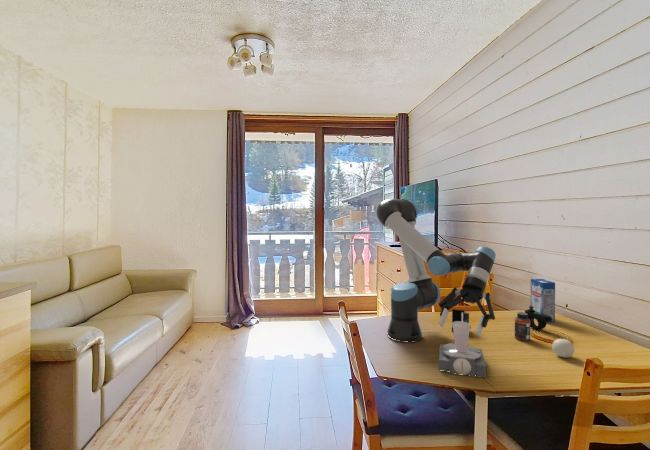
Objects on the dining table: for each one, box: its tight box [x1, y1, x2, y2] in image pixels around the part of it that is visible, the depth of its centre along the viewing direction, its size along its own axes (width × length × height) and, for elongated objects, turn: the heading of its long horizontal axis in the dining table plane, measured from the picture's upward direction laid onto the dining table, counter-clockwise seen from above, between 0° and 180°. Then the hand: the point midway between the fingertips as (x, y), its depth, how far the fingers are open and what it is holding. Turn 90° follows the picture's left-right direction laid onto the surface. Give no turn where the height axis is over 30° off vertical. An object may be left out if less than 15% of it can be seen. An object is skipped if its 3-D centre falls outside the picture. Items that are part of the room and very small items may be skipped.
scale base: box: [438, 343, 487, 378], centre depth 121 cm, size 15×16×6 cm
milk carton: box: [529, 278, 556, 323], centre depth 170 cm, size 10×6×20 cm, turn 179°
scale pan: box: [442, 342, 481, 360], centre depth 121 cm, size 13×13×1 cm
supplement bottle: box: [514, 311, 531, 342], centre depth 145 cm, size 6×6×11 cm
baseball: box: [551, 338, 575, 359], centre depth 127 cm, size 7×7×7 cm
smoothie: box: [451, 312, 472, 352], centre depth 121 cm, size 6×6×14 cm
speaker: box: [451, 308, 470, 332], centre depth 156 cm, size 8×6×10 cm
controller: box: [524, 305, 552, 330], centre depth 156 cm, size 4×12×10 cm, turn 18°
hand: (458, 329), depth 119 cm, fingers open, 13 cm apart
